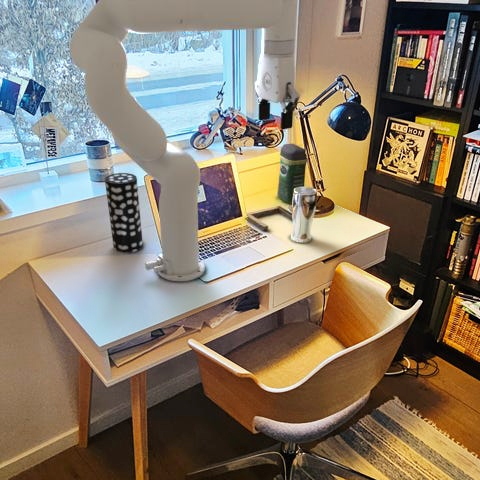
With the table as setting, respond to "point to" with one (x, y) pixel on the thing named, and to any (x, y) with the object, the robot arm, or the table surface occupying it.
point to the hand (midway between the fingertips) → (274, 123)
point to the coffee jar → (291, 171)
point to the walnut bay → (265, 212)
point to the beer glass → (303, 213)
